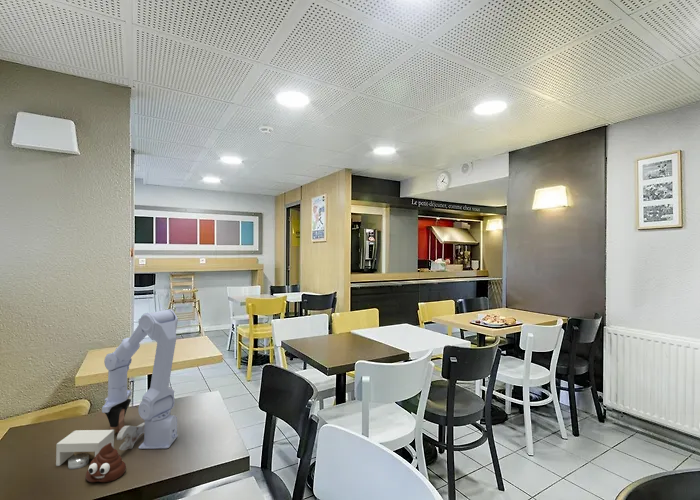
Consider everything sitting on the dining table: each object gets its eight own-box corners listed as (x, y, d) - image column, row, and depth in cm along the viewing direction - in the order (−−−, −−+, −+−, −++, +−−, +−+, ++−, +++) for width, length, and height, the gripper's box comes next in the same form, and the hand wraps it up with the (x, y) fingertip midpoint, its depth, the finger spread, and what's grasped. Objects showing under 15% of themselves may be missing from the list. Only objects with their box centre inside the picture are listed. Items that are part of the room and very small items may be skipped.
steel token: (92, 459, 111) (92, 453, 111) (81, 469, 106) (81, 462, 106) (75, 459, 111) (75, 453, 111) (63, 469, 106) (63, 462, 106)
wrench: (170, 422, 141) (120, 457, 112) (165, 422, 141) (114, 457, 112) (171, 401, 142) (122, 430, 112) (167, 401, 142) (116, 430, 112)
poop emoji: (132, 467, 108) (132, 435, 108) (114, 485, 99) (114, 451, 99) (97, 467, 108) (98, 435, 108) (77, 485, 99) (77, 451, 99)
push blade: (128, 428, 130) (128, 408, 130) (94, 458, 111) (94, 436, 111) (110, 428, 130) (111, 409, 130) (73, 459, 111) (74, 436, 111)
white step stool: (113, 449, 116) (114, 429, 116) (98, 464, 108) (98, 443, 108) (74, 450, 116) (75, 430, 116) (56, 465, 108) (56, 443, 108)
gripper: (117, 378, 136) (117, 414, 136) (92, 393, 121) (92, 434, 121) (137, 378, 136) (136, 414, 136) (114, 393, 122) (114, 434, 122)
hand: (117, 423), depth 129 cm, fingers closed on push blade, 3 cm apart
